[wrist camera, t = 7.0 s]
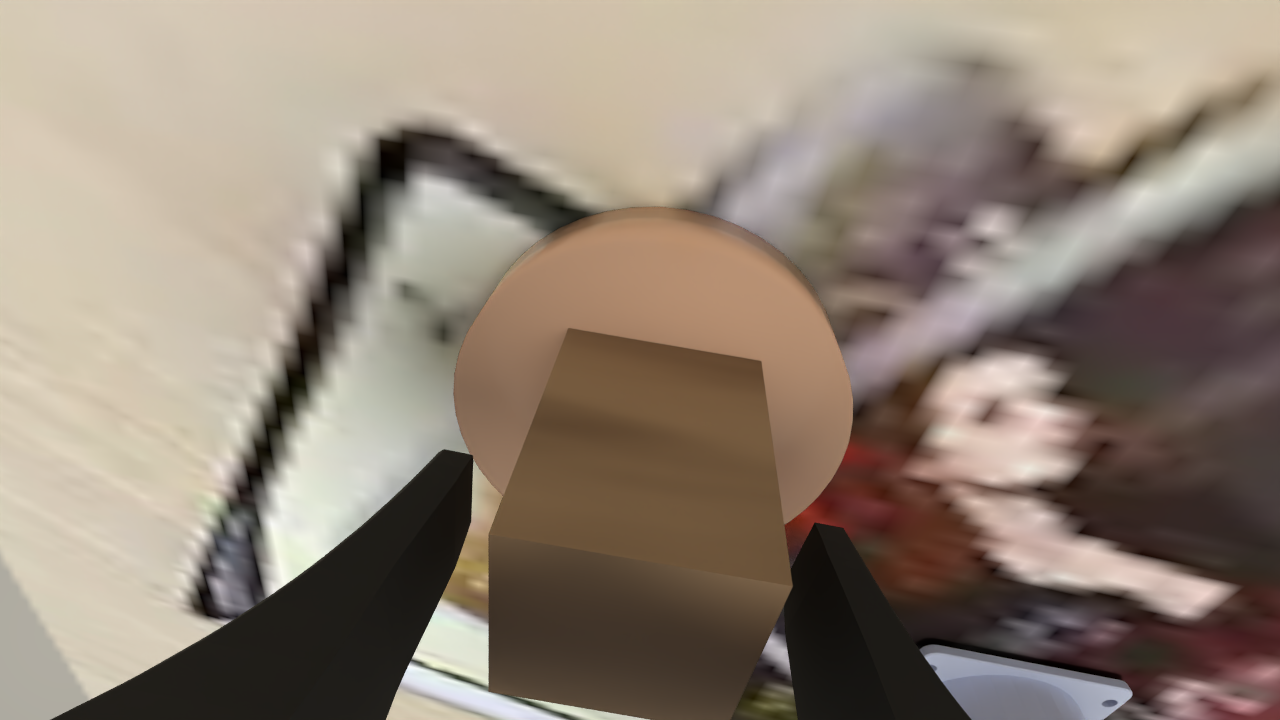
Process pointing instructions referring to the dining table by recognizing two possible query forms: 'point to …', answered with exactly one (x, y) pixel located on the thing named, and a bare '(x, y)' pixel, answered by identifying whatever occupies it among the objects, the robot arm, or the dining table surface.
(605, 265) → the tan round disc
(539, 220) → the dining table surface
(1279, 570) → the dining table surface
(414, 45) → the dining table surface
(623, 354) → the walnut block
